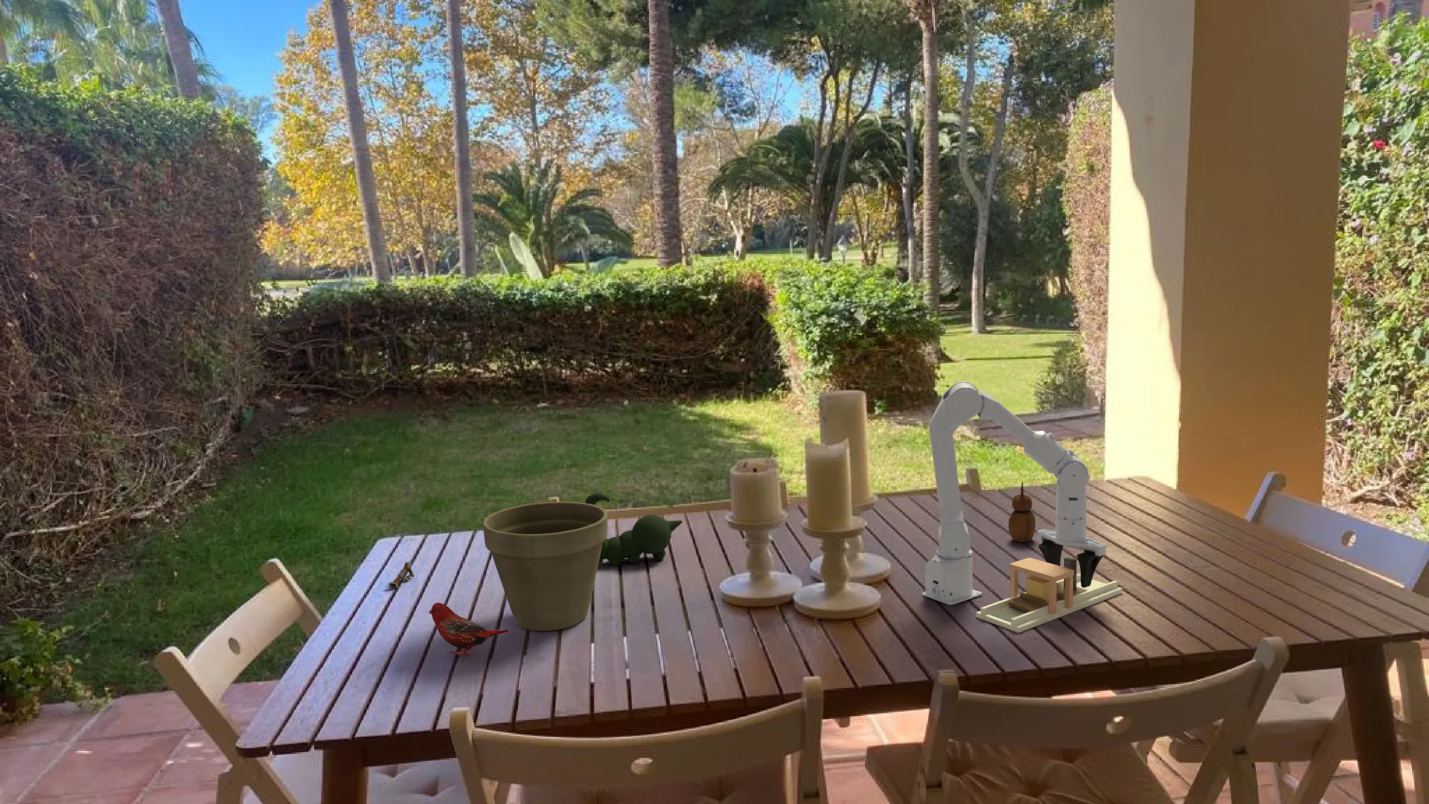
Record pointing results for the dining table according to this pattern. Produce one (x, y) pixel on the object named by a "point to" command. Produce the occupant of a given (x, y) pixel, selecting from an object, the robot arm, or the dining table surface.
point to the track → (1055, 574)
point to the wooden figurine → (1022, 518)
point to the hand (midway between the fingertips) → (1070, 581)
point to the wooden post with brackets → (401, 574)
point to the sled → (1033, 603)
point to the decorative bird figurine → (459, 629)
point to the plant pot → (547, 560)
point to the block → (1038, 587)
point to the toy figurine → (636, 537)
